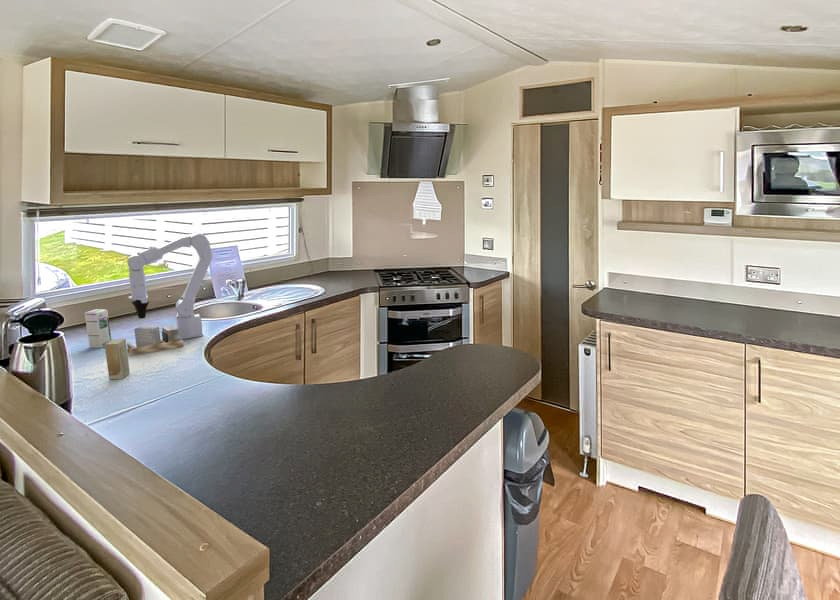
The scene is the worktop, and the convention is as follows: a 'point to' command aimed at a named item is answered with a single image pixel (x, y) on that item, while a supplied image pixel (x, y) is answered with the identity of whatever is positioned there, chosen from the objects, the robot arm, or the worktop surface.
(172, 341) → the wooden rack
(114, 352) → the skincare box
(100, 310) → the syrup box
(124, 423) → the worktop surface
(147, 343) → the medicine box
